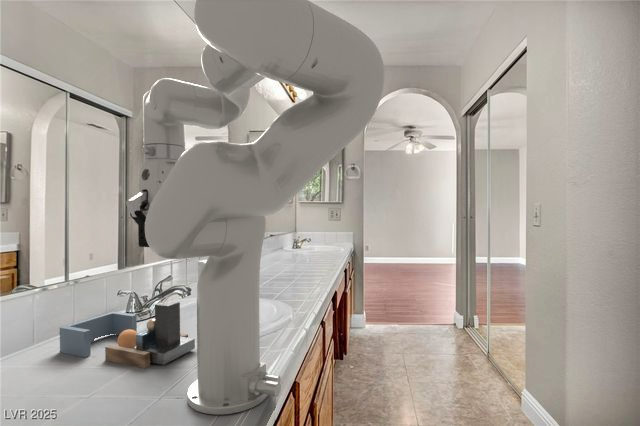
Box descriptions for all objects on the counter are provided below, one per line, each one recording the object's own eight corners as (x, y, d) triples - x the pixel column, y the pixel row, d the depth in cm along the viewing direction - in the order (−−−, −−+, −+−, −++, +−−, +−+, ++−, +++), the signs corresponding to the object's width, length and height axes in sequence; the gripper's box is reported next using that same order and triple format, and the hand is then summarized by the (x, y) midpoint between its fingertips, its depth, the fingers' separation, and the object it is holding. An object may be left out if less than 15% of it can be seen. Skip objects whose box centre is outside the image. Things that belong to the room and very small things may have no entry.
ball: (143, 347, 79) (143, 328, 79) (127, 354, 75) (127, 334, 75) (129, 344, 80) (129, 325, 80) (112, 351, 77) (112, 331, 76)
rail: (188, 346, 79) (188, 334, 79) (144, 368, 68) (144, 354, 68) (151, 340, 83) (151, 328, 83) (105, 360, 72) (105, 347, 72)
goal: (136, 336, 85) (136, 314, 85) (84, 357, 74) (84, 331, 73) (113, 332, 88) (113, 311, 88) (60, 352, 76) (59, 327, 76)
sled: (194, 348, 77) (194, 299, 76) (163, 364, 69) (163, 310, 69) (164, 343, 79) (164, 296, 79) (131, 358, 72) (131, 306, 71)
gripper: (144, 149, 64) (145, 249, 64) (209, 160, 80) (210, 241, 80) (111, 151, 66) (113, 248, 67) (181, 162, 82) (182, 240, 83)
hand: (166, 244), depth 73 cm, fingers open, 9 cm apart
